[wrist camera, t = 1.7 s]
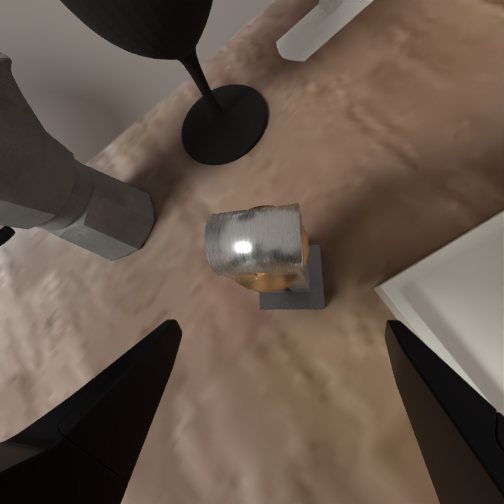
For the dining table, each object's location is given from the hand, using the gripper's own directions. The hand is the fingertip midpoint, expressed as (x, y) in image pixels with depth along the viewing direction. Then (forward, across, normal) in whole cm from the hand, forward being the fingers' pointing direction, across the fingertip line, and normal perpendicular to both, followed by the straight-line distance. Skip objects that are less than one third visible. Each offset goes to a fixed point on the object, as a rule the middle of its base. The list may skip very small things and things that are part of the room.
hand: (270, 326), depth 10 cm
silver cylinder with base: (+10, 0, +5) cm, 11 cm away
